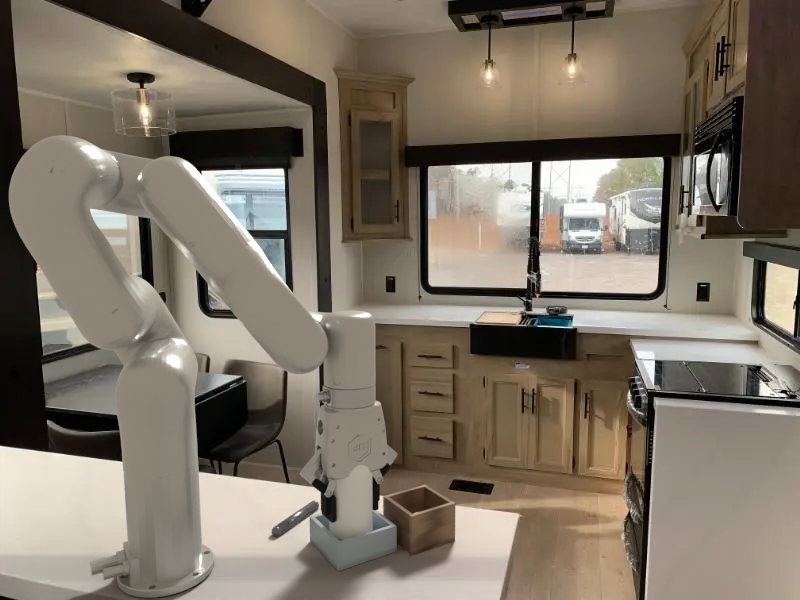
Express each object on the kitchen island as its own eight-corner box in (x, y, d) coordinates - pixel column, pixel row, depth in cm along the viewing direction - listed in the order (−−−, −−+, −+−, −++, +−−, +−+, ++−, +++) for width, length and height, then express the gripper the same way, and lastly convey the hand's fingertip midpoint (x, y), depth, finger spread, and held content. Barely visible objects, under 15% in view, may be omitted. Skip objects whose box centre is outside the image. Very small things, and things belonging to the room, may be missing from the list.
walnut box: (411, 555, 88) (411, 516, 88) (383, 532, 95) (383, 496, 94) (455, 540, 93) (455, 503, 92) (425, 519, 99) (425, 484, 99)
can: (352, 547, 86) (352, 466, 85) (320, 533, 90) (319, 456, 89) (381, 529, 91) (381, 453, 90) (349, 517, 95) (348, 443, 94)
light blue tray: (338, 571, 84) (338, 544, 84) (310, 541, 93) (309, 516, 92) (396, 551, 90) (396, 525, 89) (364, 524, 98) (364, 501, 97)
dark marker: (277, 539, 94) (277, 529, 93) (269, 537, 94) (269, 527, 94) (320, 509, 104) (320, 500, 104) (313, 507, 104) (313, 498, 104)
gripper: (305, 411, 81) (307, 539, 83) (413, 393, 90) (413, 508, 92) (284, 398, 87) (286, 517, 89) (387, 382, 96) (387, 490, 98)
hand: (350, 511), depth 90 cm, fingers closed on can, 6 cm apart
